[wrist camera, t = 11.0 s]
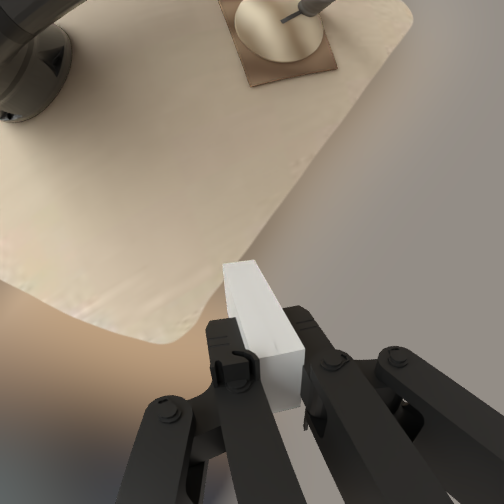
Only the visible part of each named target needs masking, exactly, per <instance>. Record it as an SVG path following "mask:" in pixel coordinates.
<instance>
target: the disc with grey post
mask: <svg viewBox="0 0 504 504" xmlns="http://www.w3.org/2000/svg"><path fill="white" fill-rule="evenodd" d="M334 1H335V0H243V1H242V2H241V3H240V5H239V7H238V9H237V11H236V14H235V22H234V23H235V29H236V32H237V35H238V37H239V38H240V40H241V42H242V43H243V44H244V45H245V46H246V47H247V48H248V49H249V50H250V51H251V52H253V53H254V54H256V55H257V56H259V57H261V58H263V59H266V60H269V61H273V62H279V63H290V62H296V61H299V60H302V59H304V58H306V57H308V56H309V55H311V54H312V53H313V52H314V51H315V50H316V49H317V48H318V47H319V45H320V43H321V41H322V38H323V24H322V20H321V18H320V16H319V14H318V13H319V12H321V11H322V10H323V9H324V8H326V7H327V6H328V5H330V4H331V3H332V2H334Z"/></svg>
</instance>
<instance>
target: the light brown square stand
mask: <svg viewBox="0 0 504 504" xmlns="http://www.w3.org/2000/svg"><path fill="white" fill-rule="evenodd" d="M242 1H243V0H218V2H219V4H220V7H221V9H222V12H223V15H224V17H225V20H226V22H227V25H228V27H229V30H230V33H231V35H232V38H233V41H234V43H235V46H236V49H237V51H238V54H239V57H240V60H241V62H242V65H243V68H244V71H245V74H246V77H247V79H248V82H249V85H250V87H253V86H257V85H261V84H265V83H269V82H273V81H278V80H282V79H287V78H291V77H296V76H301V75H306V74H311V73H317V72H323V71H329V70H335V69H338V67H337V64H336V61H335V59H334V56H333V53H332V50H331V47H330V44H329V42H328V39H327V36H326V34H325V31H324V29H323V38H322V41H321V43H320V45H319V47H318V48H317V49H316V50H315V51H314V52H313V53H312V54H311V55H309V56H308V57H306V58H304V59H302V60H299V61H296V62H290V63H279V62H273V61H269V60H266V59H263V58H261V57H259V56H257V55H256V54H254V53H253V52H251V51H250V50H249V49H248V48H247V47H246V46H245V45H244V44H243V43H242V42H241V40H240V38H239V37H238V35H237V32H236V29H235V23H234V22H235V14H236V11H237V9H238V7H239V5H240V3H241V2H242Z"/></svg>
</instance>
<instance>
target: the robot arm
mask: <svg viewBox="0 0 504 504" xmlns="http://www.w3.org/2000/svg"><path fill="white" fill-rule="evenodd" d="M85 1H87V0H0V121H4V122H21V121H25V120H28V119H30V118H32V117H34V116H36V115H37V114H39V113H40V112H41V111H43V110H44V109H45V108H46V107H47V106H48V105H49V104H50V103H51V102H52V101H53V99H54V98H55V97H56V95H57V94H58V93H59V91H60V89H61V88H62V86H63V84H64V82H65V80H66V78H67V75H68V72H69V69H70V65H71V58H72V48H71V43H70V40H69V38H68V36H67V34H66V33H65V32H64V31H63V30H62V29H61V28H60V27H59V26H57V25H56V24H54V22H55V21H57V20H58V19H60V18H61V17H62V16H64V15H65V14H67V13H68V12H70V11H71V10H73V9H74V8H76V7H77V6H79V5H80V4H82V3H84V2H85ZM222 265H223V275H224V285H225V294H226V303H227V312H228V317H229V318H226V319H219V320H212V321H209V323H208V325H207V327H206V337H207V344H208V351H209V357H210V371H211V376H212V383H211V385H210V387H209V388H208V389H207V390H206V391H205V392H204V393H203V394H201V395H199V396H197V397H195V398H192V399H190V400H185V399H183V398H182V397H178V396H174V395H170V396H163V397H160V398H157V399H155V400H154V401H153V402H151V403H150V404H149V405H148V407H147V409H146V410H145V413H144V416H143V419H142V422H141V425H140V428H139V430H138V433H137V436H136V440H135V442H134V445H133V448H132V451H131V454H130V458H129V461H128V464H127V467H126V470H125V473H124V476H123V480H122V483H121V487H120V489H119V492H118V496H117V499H116V502H115V504H203V498H204V490H205V483H206V475H207V468H208V461H209V459H211V458H213V457H215V456H218V455H220V454H222V453H224V452H227V458H228V462H229V467H230V471H231V476H232V480H233V484H234V489H235V493H236V497H237V501H238V504H307V503H306V500H305V498H304V495H303V493H302V490H301V488H300V485H299V482H298V480H297V478H296V475H295V472H294V470H293V467H292V465H291V462H290V459H289V457H288V454H287V451H286V449H285V446H284V443H283V441H282V438H281V435H280V433H279V430H278V427H277V424H276V422H275V419H274V416H273V413H276V412H280V411H284V410H289V409H293V408H297V407H300V403H301V398H302V400H303V402H304V404H305V406H306V409H305V418H304V424H303V427H304V431H305V430H307V429H308V425H309V427H310V429H311V431H312V433H313V436H314V438H315V440H316V442H317V444H318V446H319V449H320V451H321V453H322V455H323V457H324V460H325V462H326V464H327V466H328V468H329V470H330V472H331V474H332V477H333V479H334V481H335V483H336V485H337V487H338V489H339V492H340V494H341V496H342V498H343V500H344V502H345V504H454V503H453V501H452V500H451V498H450V497H449V495H448V494H447V492H448V493H449V494H450V495H451V496H452V497H453V498H455V499H456V500H457V501H458V502H459V503H461V504H504V416H503V415H501V414H500V413H499V412H497V411H496V410H494V409H493V408H491V407H490V406H489V405H487V404H486V403H484V402H483V401H482V400H480V399H479V398H477V397H476V396H475V395H473V394H472V393H470V392H469V391H467V390H466V389H465V388H463V387H462V386H460V385H459V384H457V383H456V382H455V381H453V380H452V379H450V378H449V377H448V376H446V375H445V374H443V373H442V372H440V371H439V370H438V369H436V368H435V367H433V366H432V365H430V364H429V363H427V362H426V361H425V360H423V359H422V358H420V357H419V356H417V355H416V354H414V353H413V352H412V351H410V350H408V349H406V348H403V347H399V346H391V347H387V348H385V349H383V350H382V351H381V352H380V353H379V356H378V359H373V360H353V359H352V357H351V356H349V355H348V354H347V353H345V352H343V351H341V350H336V349H335V348H334V347H333V345H332V344H331V343H330V341H329V340H328V338H327V337H326V335H325V334H324V333H323V331H322V330H321V328H320V327H319V325H318V324H317V322H316V321H314V318H313V317H312V315H311V314H310V312H309V311H307V310H306V309H304V308H303V307H301V306H293V307H287V308H282V307H281V306H280V304H279V302H278V300H277V299H276V297H275V295H274V293H273V292H272V290H271V288H270V287H269V285H268V283H267V281H266V279H265V278H264V276H263V274H262V272H261V271H260V269H259V267H258V265H257V264H256V262H255V260H248V261H240V262H233V263H225V264H222ZM403 399H404V400H406V401H407V402H408V403H406V402H404V401H403Z"/></svg>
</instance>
